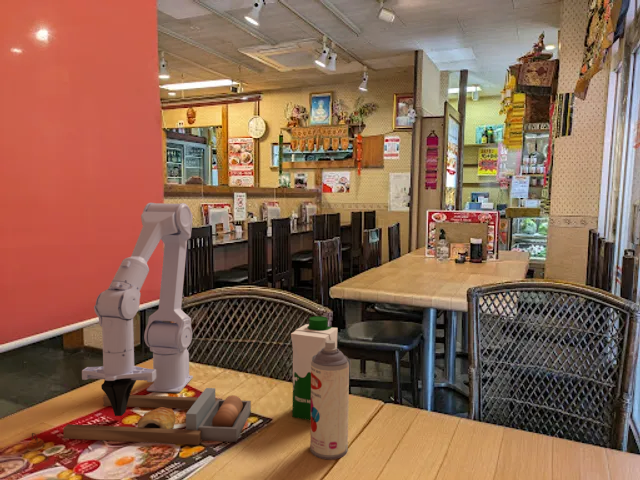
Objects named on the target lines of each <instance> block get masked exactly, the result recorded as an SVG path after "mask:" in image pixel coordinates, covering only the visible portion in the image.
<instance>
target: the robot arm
mask: <svg viewBox="0 0 640 480" xmlns="http://www.w3.org/2000/svg"><path fill="white" fill-rule="evenodd" d="M193 217H194V215H193V212H192V211H191V208H190V206H189V205H188V204H187V203H185V202H182V203H181V202H179V203H166V202H165V203H162V202H159V203H158V202H157V203H155V202H148V203H146V205H145V206H144V208H143V210H142V213H141V215H140V219H141V224H142V228H141V229H140V233H139V235H138V238H137V239H136V243H135V246H134V248H133V251H132V253H131V255H130V256H129V257H126V258H124V259H122V261H121V263H120V265H119V266H118V269H117V270H116V272H115V274H114V276H113V279H112V280H111V283H110V284H109V286H108V288H107V289H105V290H104V291H102V292H100V293H99V294H98V295H97V297H96V300H95V305H94V306H93V309H94V313H95V315H96V316H97V317H98V318H97V319H98V325H100V327H101V332H102V334H101V337H102V362H103V363H102V366H86V367H85V368H84V369H82V370H81V380H82V381H83V380H84V381H85V380H86V381H87V380H90V379H91V380H92V379H94V380H104V381H103V383H101V390H102V391H103V392H104V394H105V395H107V397H108V398H109V400H110V403H111V405H112V406H111V408H112V411H113V414H114V416H115V417H122V416H124V415H125V413H127V403H128V399H129V396H130V395H131V393H132V390H133V388H134V386H135V383H136V382H137V381H146V382H147V383H152V384H150V386H149V387H147V388H146V391H147V392H158V393H159V392H161V393H162V392H163V393H180V392H182V390H183V389H184V388H185V387H186V386H187V385H188V383H190V381H192V379H193V378H194V375H190V353H189V350H188V348H189V346H190V345H191V343H192V338H193V331H192V318H191V317H190V316H189V315H188V314H187V313H185V312H184V311H183V310H182V304H183V291H184V290H183V289H184V281H185V268H186V259H187V258H186V257H187V249H188V248H187V245H188V240H190V239H191V237H192V229H193V228H192V227H193V219H194V218H193ZM160 241H162V243H163V244H164V247H163V249H164V250H163V257H162V258H163V259H162V267H161V268H162V269H161V281H160V290H159V301H158V309H156V310H155V311H154V312H153V313H152V314H151V315H149V316H148V320H147V325H146V327H145V329H144V334H143V335H144V342H145V345H146V346H147V347H148V348H149V351H150V352H152V364H153V365H152V368H153V369H152V368H147V367H141V366H138V365H137V366H136V365H135V352H134V351H135V345H134V344H135V343H134V342H135V341H134V317H136V315H137V313H138V311H139V309H140V300H141V296H142V295H141V294H142V293H141V292H140V291H141V290H142V287H143V285H144V283H145V281H146V279H147V276H148V274H149V272H150V268H149V265H148V262H149V260H150V258H151V257H152V255H153V253H154V252H155V250H156V249H157V247H158V244H159V243H160Z"/></svg>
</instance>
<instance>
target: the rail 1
mask: <svg viewBox="0 0 640 480" xmlns="http://www.w3.org/2000/svg"><path fill="white" fill-rule="evenodd" d="M102 398H103V406H106V407H108V406H109V407H112V405H111V403H110V400H109V398H108V397H107V395H106V394H105V395H104V396H103V397H102ZM198 398H199V397H195V396H194V397H191V396H169V395H167V396H166V395H147V394H146V395H144V394H142V395H141V394H130V396H129V399H128V403H127V407H130V408H131V407H132V408H151V409H152V408H153V409H157V408H160V407H164V408H169V409H172V408H176V409H175V410H178V409H179V410H189V409H190V408H191V407H192V405H193V404H194V403H195V401H196V400H197V399H198ZM217 400H223V398H219V397H215V401H217ZM127 407H126V408H127ZM177 408H178V409H177Z"/></svg>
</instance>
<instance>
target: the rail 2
mask: <svg viewBox="0 0 640 480" xmlns="http://www.w3.org/2000/svg"><path fill="white" fill-rule="evenodd" d="M62 429H63V439H72V440H73V439H75V440H89V441H90V440H91V441H92V440H94V441H112V442H114V441H115V442H134V443H153V444H154V443H157V444H172V445H174V444H175V445H193V446H194V445H195V446H199V445H200V444H201V442H202V440H201V430H186V429H180V428H177V429H176V428H173V429H160V428H139V427H133V426H115V425H114V426H113V425H96V424H94V425H92V424H73V423H72V424H71V423H68V424H67V425H65V426H64V427H63V428H62Z"/></svg>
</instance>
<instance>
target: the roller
mask: <svg viewBox="0 0 640 480" xmlns="http://www.w3.org/2000/svg"><path fill="white" fill-rule="evenodd" d="M224 400H225V401H224V402H223V404H222V405H221V407H220V408H219V410H218V411H217V413H216V415H215V416H214V418H213V420H212V425H213V426H215V427H233V425H234V423H235V421H236V419H237V417H238V415H239V413H240V412H241V410H242V407H243V403H242V401H243V400H242V399H241V398H240V397H239V396H237V395H228V396H227V397H226V398H225V399H224Z"/></svg>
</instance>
